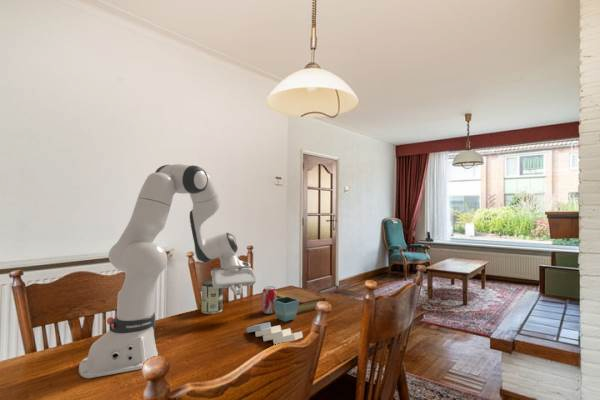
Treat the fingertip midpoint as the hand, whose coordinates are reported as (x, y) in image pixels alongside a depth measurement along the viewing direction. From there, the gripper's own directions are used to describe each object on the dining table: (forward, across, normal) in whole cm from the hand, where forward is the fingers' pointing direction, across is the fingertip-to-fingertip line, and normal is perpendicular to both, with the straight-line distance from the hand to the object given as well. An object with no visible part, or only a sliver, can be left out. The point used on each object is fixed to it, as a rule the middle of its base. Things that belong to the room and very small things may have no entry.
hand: (238, 294), depth 143 cm
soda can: (+5, +19, +12) cm, 23 cm away
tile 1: (+20, +2, -6) cm, 21 cm away
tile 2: (+24, +2, -10) cm, 26 cm away
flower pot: (+14, +21, +2) cm, 25 cm away
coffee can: (-6, -3, +25) cm, 26 cm away
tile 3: (+27, +4, -14) cm, 31 cm away
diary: (+4, +38, +13) cm, 41 cm away
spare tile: (+17, +1, -1) cm, 17 cm away
